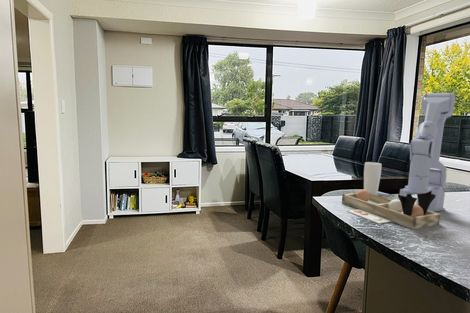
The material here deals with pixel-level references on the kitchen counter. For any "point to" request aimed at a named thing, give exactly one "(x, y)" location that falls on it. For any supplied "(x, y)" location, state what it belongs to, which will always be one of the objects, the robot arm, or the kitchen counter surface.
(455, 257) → the kitchen counter surface
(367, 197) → the ball
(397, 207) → the cream ball
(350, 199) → the two-well rack
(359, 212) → the card
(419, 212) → the terracotta ball
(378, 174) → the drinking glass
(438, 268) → the kitchen counter surface
